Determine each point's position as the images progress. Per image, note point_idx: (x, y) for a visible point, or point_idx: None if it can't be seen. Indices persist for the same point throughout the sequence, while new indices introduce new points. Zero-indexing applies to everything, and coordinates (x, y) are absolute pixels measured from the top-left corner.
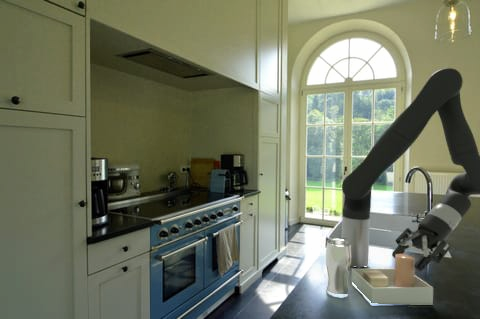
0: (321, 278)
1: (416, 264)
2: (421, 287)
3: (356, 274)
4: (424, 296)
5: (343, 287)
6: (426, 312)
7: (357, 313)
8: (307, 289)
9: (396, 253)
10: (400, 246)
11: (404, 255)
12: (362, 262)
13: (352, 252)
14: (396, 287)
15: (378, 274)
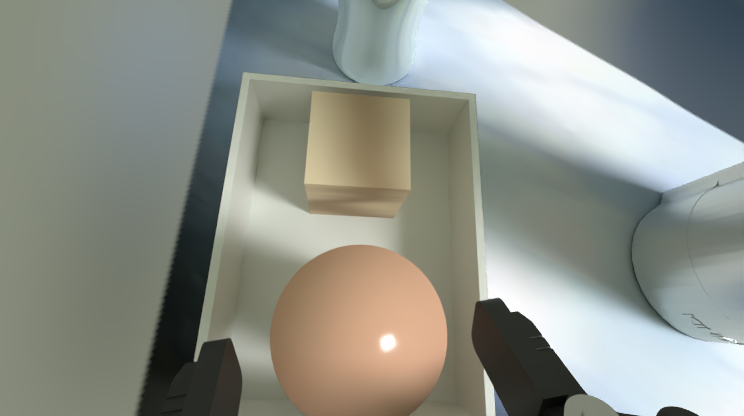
0: (501, 51)
1: (210, 351)
2: (199, 343)
3: (418, 93)
4: None
5: (338, 23)
6: (174, 323)
7: (226, 51)
8: None
9: (490, 330)
10: (546, 396)
11: (401, 355)
12: (662, 273)
13: (716, 204)
14: (228, 191)
15: (356, 156)
